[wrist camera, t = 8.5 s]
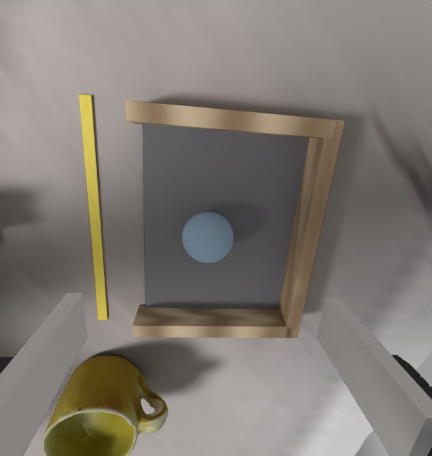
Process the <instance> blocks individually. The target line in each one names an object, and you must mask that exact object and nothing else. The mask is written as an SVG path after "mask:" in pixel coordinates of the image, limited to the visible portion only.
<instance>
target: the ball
mask: <svg viewBox="0 0 432 456" xmlns="http://www.w3.org/2000/svg"><path fill="white" fill-rule="evenodd" d="M233 239H234V235H233V230H232V227H231V225H230V223H229V222H228V221H227V220H226V219H225V218H224V217H223V216H221V215H220V214H218V213H215V212H201V213H198V214H196V215H194V216H193V217H192V218H190V219H189V221H188V222H187V223H186V225H185V227H184V229H183V233H182V241H183V245H184V248H185V250H186V252H187V253H188V254H189V255H190V256H191V257H192V258H193V259H195V260H197V261H199V262H203V263H213V262H217V261H219V260H221V259H222V258H224V257H225V256H226V255H227V254H228V253H229V251H230V249H231V247H232V245H233Z"/></svg>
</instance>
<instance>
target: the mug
mask: <svg viewBox="0 0 432 456" xmlns="http://www.w3.org/2000/svg"><path fill="white" fill-rule="evenodd" d="M141 398H144V399H145V400H146V401H147V402H148V403H149V405H150V406H151V407H153V408H154V409H155V411H154V413H153V414H148V415H147V414H146V413H145V412H144V411H143V408H142V406H141ZM167 416H168V408H167V405H166V403H165V401H164V400H163V399H162V398H161V397H160V396H158V395H157V394H155V393H154V392H152V391H151V390H149V389H148V387H147V385H146V381H145V378H144V377H143V375H142V373H141V372H140V371H139V370H138V369H137V368H136V367H134V366H133V365H132V364H131V363H130V361H128V360H127V359H125V358H122V357H120V356H107V355H99V356H95V357H92V358H90V359H88V360H86V361H84V362H83V363H82V364H81V365H79V366H78V367H77V369H76V370H75V371H74V372H73V374H72V376H71V378H70V380H69V382H68V384H67V386H66V388H65V390H64V392H63V394H62V396H61V398H60V400H59V401H58V403H57V406H56V408H55V410H54V412H53V415H52V417H51V419H50V422H49V424H48V426H47V429H46V431H45V433H44V436H43V439H42V450H43V452H44V455H45V456H128V455H129V454H130V453H131V452H132V450H133V449H134V446H135V444H136V441H137V437H138V435H139V433H140V432H146V433H153V432H157V431H158V430H159V429H160V428H161V427H162V426H163V424H164V423H165V421H166V418H167Z"/></svg>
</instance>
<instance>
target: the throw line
mask: <svg viewBox="0 0 432 456" xmlns="http://www.w3.org/2000/svg"><path fill="white" fill-rule="evenodd" d="M79 99H80V110H81V122H82V134H83V145H84V157H85V169H86V181H87V192H88V204H89V216H90V227H91V239H92V251H93V263H94V274H95V286H96V298H97V309H98V320H107V319H108V318H107V304H106V290H105V276H104V262H103V248H102V234H101V220H100V206H99V192H98V178H97V164H96V150H95V136H94V122H93V108H92V96H91V95H82V94H79Z"/></svg>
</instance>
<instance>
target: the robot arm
mask: <svg viewBox="0 0 432 456" xmlns="http://www.w3.org/2000/svg"><path fill="white" fill-rule="evenodd" d="M86 338H87V327H86V318H85V308H84V299H83V293H67V294H66V295H65V296H64V297H63V298H62V300H61V301H60V302H59V303H58V304H57V306H56V307H55V308H54V309H53V311H52V312H51V313H50V314H49V315H48V317H47V318H46V319H45V320H44V322H43V323H42V324H41V325H40V326H39V328H38V329H37V330H36V331H35V332H34V334H33V335H32V336H31V337H30V339H29V340H28V341H27V342H26V343H25V345H24V346H23V347H22V348H21V349H20V351H19V352H18V353H17V354H16V356H15V357H1V358H0V456H23V455H24V453H25V452H26V450H27V448H28V446H29V444H30V442H31V440H32V439H33V437H34V435H35V433H36V431H37V429H38V427H39V426H40V424H41V422H42V420H43V418H44V416H45V414H46V413H47V411H48V409H49V407H50V405H51V403H52V401H53V400H54V398H55V396H56V394H57V392H58V390H59V388H60V387H61V385H62V383H63V381H64V379H65V377H66V375H67V374H68V372H69V370H70V368H71V366H72V364H73V362H74V361H75V359H76V357H77V355H78V353H79V351H80V349H81V348H82V346H83V344H84V342H85V340H86ZM317 339H318V340H319V342H320V343H321V345H322V347H323V348H324V350H325V352H326V353H327V355H328V356H329V358H330V360H331V361H332V363H333V365H334V366H335V368H336V369H337V371H338V373H339V374H340V376H341V378H342V379H343V381H344V382H345V384H346V386H347V387H348V389H349V391H350V392H351V394H352V395H353V397H354V399H355V400H356V402H357V404H358V405H359V407H360V408H361V410H362V412H363V413H364V415H365V417H366V418H367V420H368V422H369V423H370V425H371V426H372V428H373V430H374V431H375V433H376V435H377V436H378V438H379V439H380V441H381V443H382V444H383V446H384V448H385V449H386V451H387V452H388V454H389V456H432V387H430V386H429V384H428V383H427V382H426V381H425V380H424V379H423V378H422V377H421V376H420V374H419V373H418V372H417V371H416V370H415V369H414V368H413V367H412V366H411V365H410V364H409V363H407V362H406V361H405V360H403V359H402V358H400V357H399V356H398V355H391V354H390V353H389V352H388V351H387V350H386V349H385V348H384V347H383V345H382V344H381V343H380V342H379V341H378V340H377V339H376V338H375V337H374V336H373V334H372V333H371V332H370V331H369V330H368V329H367V328H366V327H365V326H364V325H363V323H362V322H361V321H360V320H359V319H358V318H357V317H356V316H355V315H354V314H353V312H352V311H351V310H350V309H349V308H348V307H347V306H346V305H345V304H344V303H343V301H342V300H341V299H340V298H326V302H325V306H324V310H323V314H322V318H321V322H320V326H319V330H318V334H317Z"/></svg>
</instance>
